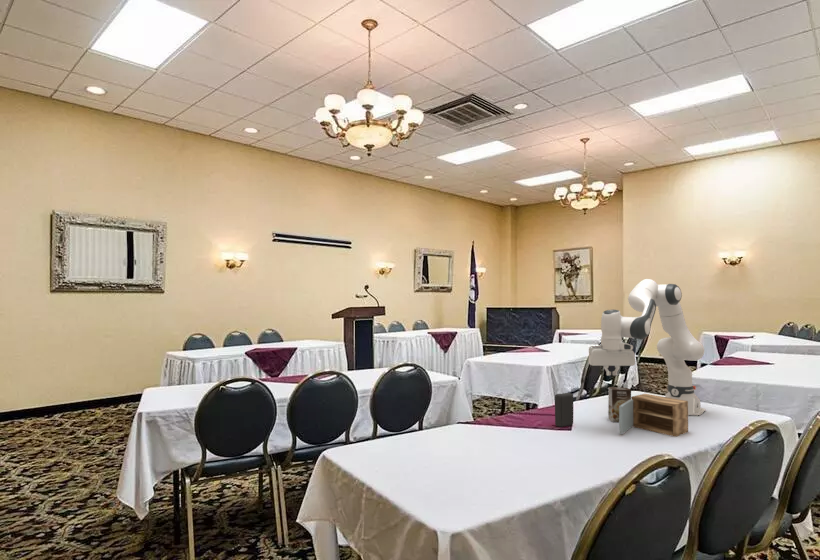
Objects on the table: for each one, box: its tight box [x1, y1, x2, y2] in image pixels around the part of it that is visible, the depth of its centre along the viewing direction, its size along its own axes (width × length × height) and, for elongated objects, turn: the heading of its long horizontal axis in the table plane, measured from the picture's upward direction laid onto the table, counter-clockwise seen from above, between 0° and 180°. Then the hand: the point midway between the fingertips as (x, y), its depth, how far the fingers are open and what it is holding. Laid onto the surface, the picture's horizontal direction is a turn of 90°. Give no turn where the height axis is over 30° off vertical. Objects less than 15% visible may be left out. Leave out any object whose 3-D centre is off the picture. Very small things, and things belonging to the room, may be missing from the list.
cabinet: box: [631, 393, 689, 438], centre depth 227 cm, size 12×20×14 cm, turn 36°
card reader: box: [554, 392, 574, 428], centre depth 233 cm, size 9×4×15 cm, turn 119°
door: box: [618, 399, 633, 435], centre depth 223 cm, size 1×19×12 cm, turn 141°
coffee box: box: [607, 386, 632, 423], centre depth 241 cm, size 9×6×16 cm
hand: (611, 375), depth 225 cm, fingers closed
